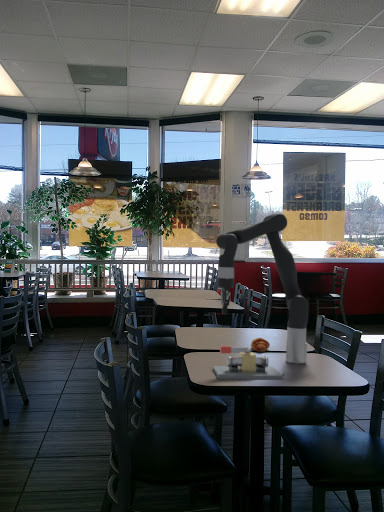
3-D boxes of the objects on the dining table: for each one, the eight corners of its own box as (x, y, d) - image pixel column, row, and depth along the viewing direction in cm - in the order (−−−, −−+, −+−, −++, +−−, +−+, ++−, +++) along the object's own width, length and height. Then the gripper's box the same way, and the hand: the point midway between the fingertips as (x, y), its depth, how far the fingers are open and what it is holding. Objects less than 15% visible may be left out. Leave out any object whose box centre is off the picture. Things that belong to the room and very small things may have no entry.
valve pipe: (264, 369, 206) (265, 352, 206) (268, 372, 200) (269, 355, 200) (226, 368, 204) (226, 352, 204) (228, 372, 198) (229, 355, 198)
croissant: (254, 351, 266) (248, 338, 267) (270, 343, 265) (264, 331, 266) (255, 358, 245) (248, 345, 246) (272, 350, 244) (265, 337, 245)
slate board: (273, 369, 211) (273, 366, 211) (282, 379, 196) (282, 375, 196) (213, 369, 208) (213, 366, 208) (218, 378, 193) (218, 375, 193)
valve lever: (249, 352, 204) (250, 346, 204) (251, 353, 201) (251, 347, 201) (220, 352, 202) (220, 345, 202) (221, 353, 199) (221, 346, 199)
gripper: (215, 275, 218) (214, 312, 218) (220, 277, 205) (219, 316, 205) (231, 276, 219) (229, 312, 219) (236, 278, 205) (235, 316, 206)
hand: (224, 314), depth 212 cm, fingers closed
